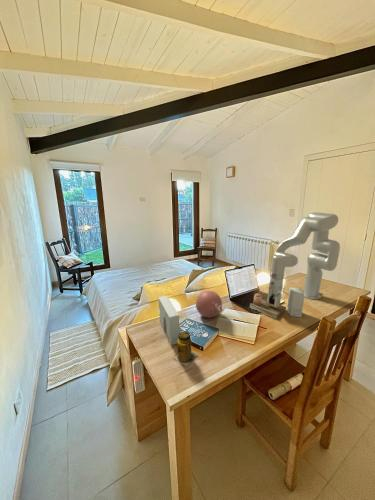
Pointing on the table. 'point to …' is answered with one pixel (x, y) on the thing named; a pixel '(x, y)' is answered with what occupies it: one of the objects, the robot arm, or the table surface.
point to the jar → (257, 299)
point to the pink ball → (209, 304)
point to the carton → (277, 300)
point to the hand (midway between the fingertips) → (273, 302)
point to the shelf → (268, 309)
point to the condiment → (184, 349)
